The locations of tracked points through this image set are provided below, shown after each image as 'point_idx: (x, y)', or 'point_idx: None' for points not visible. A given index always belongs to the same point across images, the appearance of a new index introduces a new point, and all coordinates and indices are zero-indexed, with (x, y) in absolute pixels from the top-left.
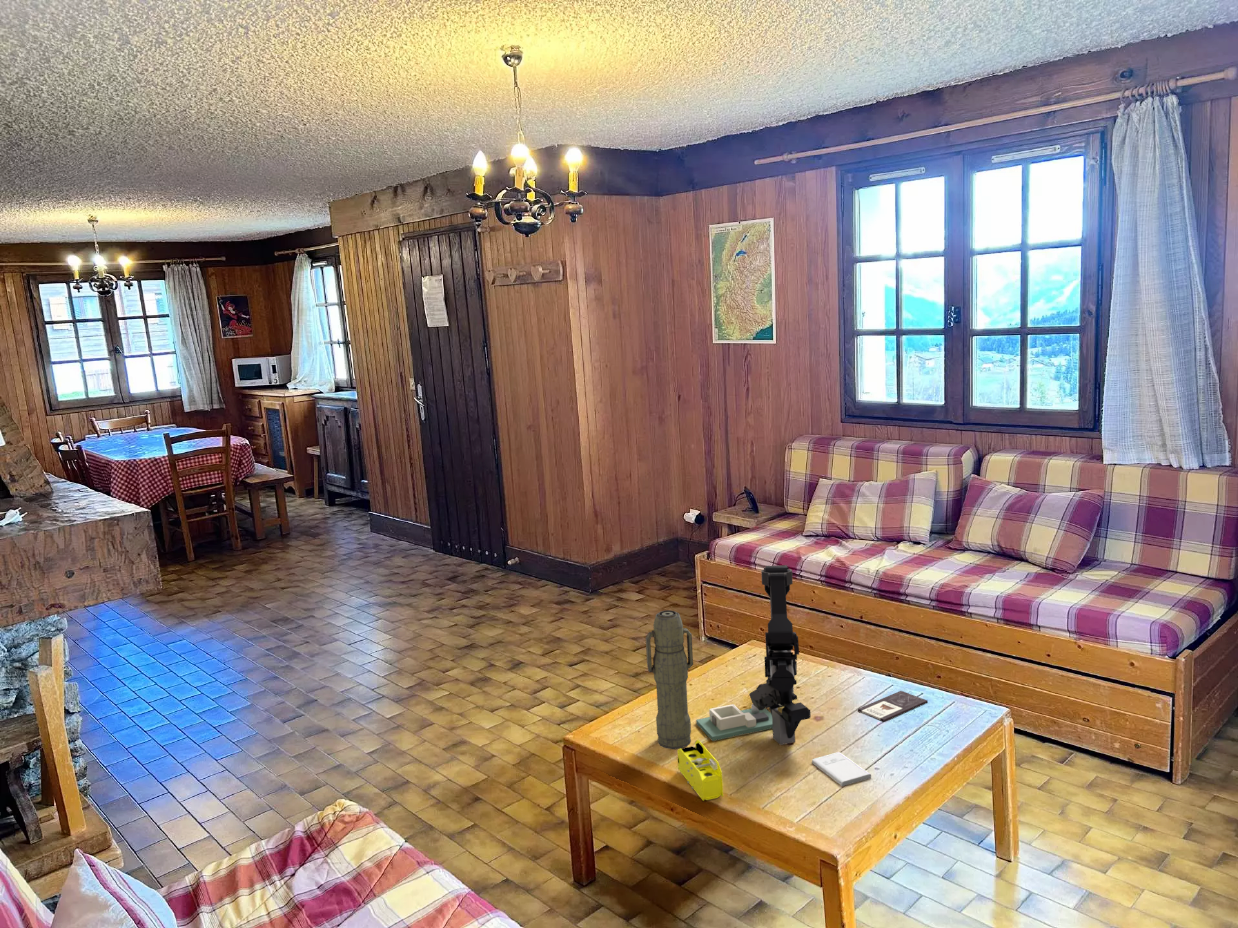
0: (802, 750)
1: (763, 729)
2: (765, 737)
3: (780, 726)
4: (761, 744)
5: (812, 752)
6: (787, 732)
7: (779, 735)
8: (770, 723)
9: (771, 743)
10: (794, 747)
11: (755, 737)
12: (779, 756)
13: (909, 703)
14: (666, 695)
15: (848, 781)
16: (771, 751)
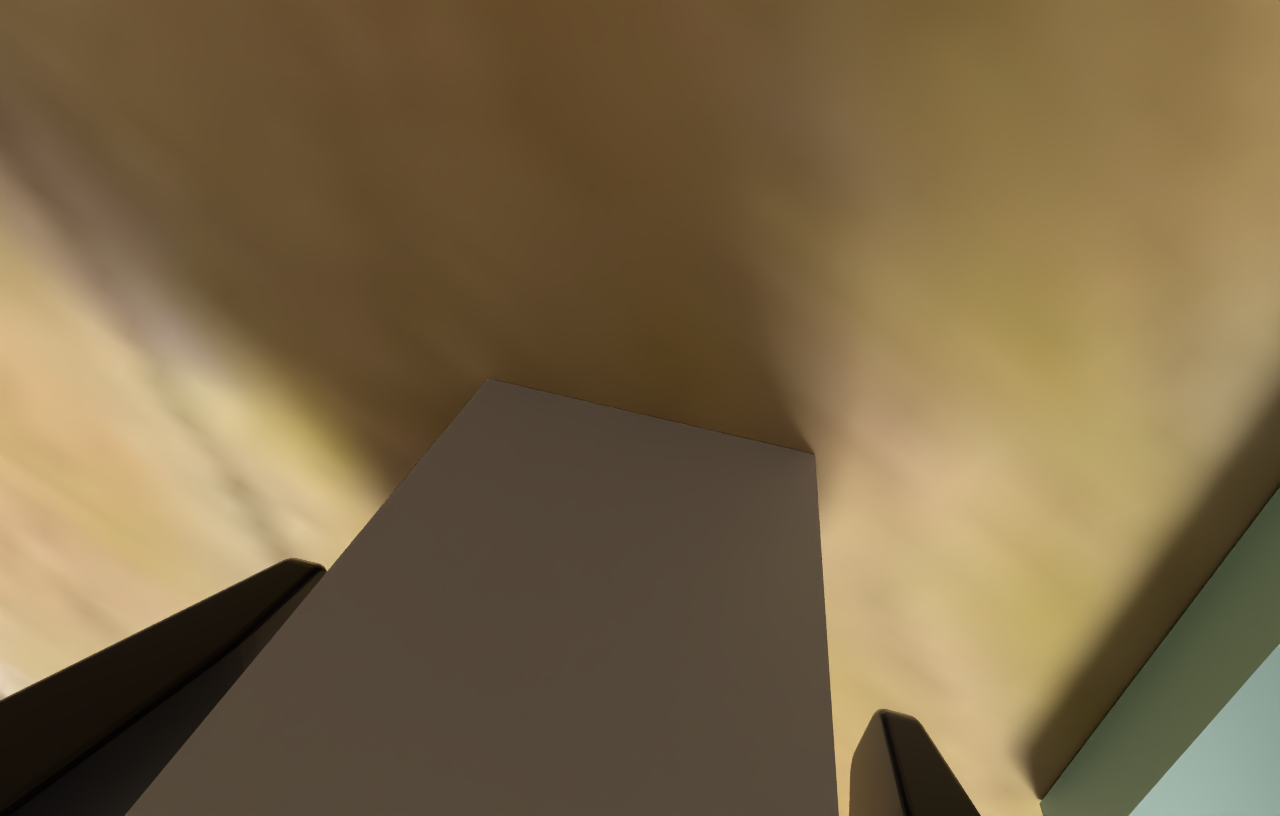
0: (178, 509)
1: (1249, 545)
2: (946, 355)
3: (223, 722)
4: (731, 37)
5: (90, 561)
6: (135, 642)
7: (433, 493)
8: (1228, 763)
9: (632, 278)
10: (305, 488)
11: (1157, 155)
12: (47, 34)
13: None
14: None
15: None
16: (305, 24)
